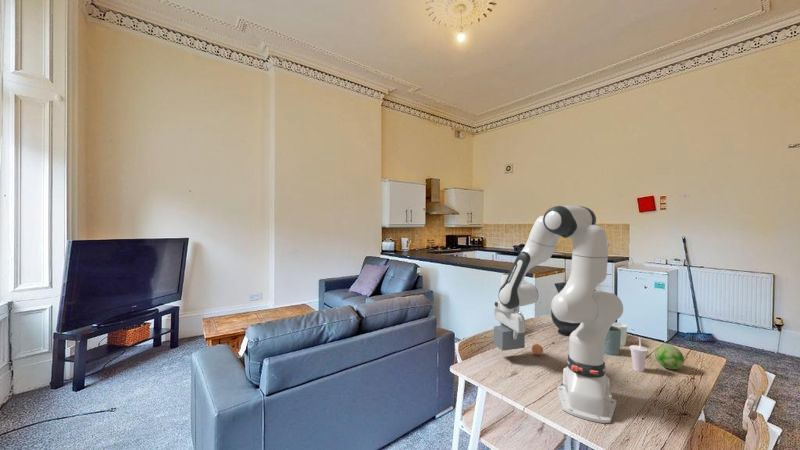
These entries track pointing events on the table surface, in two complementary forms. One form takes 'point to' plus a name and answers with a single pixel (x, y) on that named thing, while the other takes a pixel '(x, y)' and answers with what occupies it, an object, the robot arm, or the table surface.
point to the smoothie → (638, 356)
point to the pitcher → (564, 327)
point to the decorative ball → (669, 356)
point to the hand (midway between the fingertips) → (508, 335)
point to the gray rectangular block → (507, 338)
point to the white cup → (622, 332)
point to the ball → (537, 349)
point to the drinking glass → (612, 341)
